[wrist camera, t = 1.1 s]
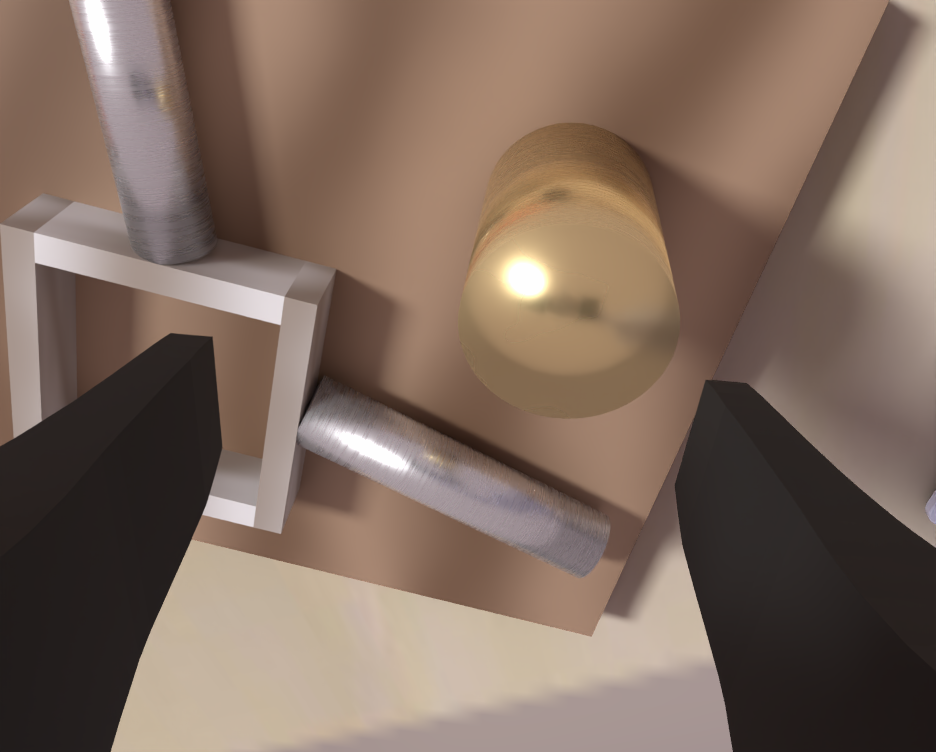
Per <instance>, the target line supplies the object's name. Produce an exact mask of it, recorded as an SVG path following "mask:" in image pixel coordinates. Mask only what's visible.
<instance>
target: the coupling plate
mask: <svg viewBox="0 0 936 752" xmlns="http://www.w3.org/2000/svg"><path fill="white" fill-rule="evenodd" d="M170 1H171V6H172V11H173V16H174V21H175V27H176V32H177V37H178V42H179V47H180V52H181V57H182V62H183V68H184V73H185V78H186V83H187V88H188V93H189V98H190V103H191V109H192V114H193V119H194V124H195V129H196V134H197V139H198V144H199V149H200V155H201V160H202V165H203V170H204V175H205V180H206V185H207V190H208V196H209V201H210V206H211V211H212V216H213V221H214V226H215V231H216V237H217V246H216V248H215V249H214V250H213V251H211V252H210V253H208V254H207V255H205V256H203V257H200V258H198V259H195V260H192V261H188V262H184V263H178V264H170V265H159V264H155V263H152V262H149V261H147V260H145V259H143V258H141V257H140V256H138V255H137V254H136V253H135V252H134V251H133V250H132V248H131V244H130V240H129V236H128V233H127V229H126V225H125V221H124V217H123V213H122V209H121V205H120V201H119V197H118V193H117V189H116V185H115V181H114V177H113V173H112V169H111V165H110V161H109V157H108V153H107V149H106V145H105V141H104V137H103V134H102V130H101V126H100V122H99V118H98V114H97V110H96V106H95V102H94V98H93V94H92V90H91V86H90V82H89V78H88V74H87V70H86V66H85V62H84V58H83V54H82V50H81V46H80V42H79V39H78V35H77V31H76V27H75V23H74V19H73V15H72V11H71V7H70V3H69V0H0V446H2V445H3V444H5V443H7V442H9V441H10V440H12V439H14V438H16V437H17V436H19V435H20V434H22V433H24V432H25V431H27V430H28V429H30V428H32V427H33V426H35V425H36V424H38V423H40V422H41V421H43V420H44V419H46V418H47V417H49V416H51V415H52V414H54V413H55V412H57V411H59V410H60V409H62V408H63V407H65V406H67V405H68V404H70V403H71V402H73V401H74V400H76V399H77V398H79V397H80V396H82V395H83V394H84V393H86V392H87V391H89V390H90V389H92V388H93V387H94V386H96V385H97V384H99V383H100V382H102V381H103V380H104V379H106V378H107V377H109V376H110V375H112V374H113V373H114V372H116V371H117V370H119V369H120V368H121V367H123V366H124V365H126V364H127V363H128V362H130V361H131V360H132V359H134V358H135V357H137V356H138V355H139V354H141V353H142V352H144V351H145V350H146V349H148V348H149V347H150V346H152V345H153V344H155V343H156V342H158V341H159V340H160V339H162V338H164V337H165V336H167V335H168V334H170V333H176V334H188V335H199V336H211V337H213V346H214V357H215V368H216V380H217V391H218V402H219V413H220V425H221V436H222V447H223V448H222V451H221V455H220V459H219V462H218V466H217V470H216V474H215V477H214V481H213V484H212V487H211V491H210V494H209V498H208V501H207V504H206V507H205V509H204V512H203V514H202V516H201V519H200V521H199V523H198V526H197V528H196V530H195V532H194V535H193V537H192V539H193V540H197V541H201V542H205V543H209V544H213V545H217V546H221V547H226V548H230V549H234V550H238V551H242V552H246V553H250V554H254V555H258V556H263V557H267V558H271V559H275V560H279V561H283V562H287V563H291V564H295V565H300V566H304V567H308V568H312V569H316V570H320V571H324V572H328V573H332V574H337V575H341V576H345V577H349V578H353V579H357V580H361V581H365V582H369V583H374V584H378V585H382V586H386V587H390V588H394V589H398V590H402V591H407V592H411V593H415V594H419V595H423V596H427V597H431V598H435V599H439V600H444V601H448V602H452V603H456V604H460V605H464V606H468V607H472V608H476V609H481V610H485V611H489V612H493V613H497V614H501V615H505V616H509V617H513V618H518V619H522V620H526V621H530V622H534V623H538V624H542V625H546V626H550V627H555V628H559V629H563V630H567V631H571V632H575V633H579V634H583V635H587V636H592V634H593V632H594V630H595V628H596V626H597V624H598V621H599V619H600V617H601V615H602V613H603V611H604V609H605V606H606V604H607V602H608V600H609V598H610V596H611V594H612V592H613V589H614V587H615V585H616V583H617V581H618V579H619V577H620V574H621V572H622V570H623V568H624V566H625V564H626V562H627V560H628V557H629V555H630V553H631V551H632V549H633V547H634V545H635V542H636V540H637V538H638V536H639V534H640V532H641V530H642V528H643V525H644V523H645V521H646V519H647V517H648V515H649V513H650V510H651V508H652V506H653V504H654V502H655V500H656V498H657V495H658V493H659V491H660V489H661V487H662V485H663V483H664V481H665V478H666V476H667V474H668V472H669V470H670V468H671V466H672V463H673V461H674V459H675V457H676V455H677V453H678V451H679V449H680V446H681V444H682V442H683V440H684V438H685V436H686V434H687V431H688V429H689V427H690V425H691V423H692V421H693V419H694V416H695V414H696V411H697V407H698V404H699V401H700V397H701V394H702V390H703V387H704V383H705V380H712V378H713V376H714V374H715V372H716V370H717V367H718V365H719V363H720V361H721V359H722V357H723V355H724V352H725V350H726V348H727V346H728V344H729V342H730V340H731V338H732V335H733V333H734V331H735V329H736V327H737V325H738V323H739V320H740V318H741V316H742V314H743V312H744V310H745V308H746V305H747V303H748V301H749V299H750V297H751V295H752V293H753V291H754V288H755V286H756V284H757V282H758V280H759V278H760V276H761V273H762V271H763V269H764V267H765V265H766V263H767V261H768V259H769V256H770V254H771V252H772V250H773V248H774V246H775V244H776V241H777V239H778V237H779V235H780V233H781V231H782V229H783V227H784V224H785V222H786V220H787V218H788V216H789V214H790V212H791V209H792V207H793V205H794V203H795V201H796V199H797V197H798V194H799V192H800V190H801V188H802V186H803V184H804V182H805V180H806V177H807V175H808V173H809V171H810V169H811V167H812V165H813V162H814V160H815V158H816V156H817V154H818V152H819V150H820V148H821V145H822V143H823V141H824V139H825V137H826V135H827V133H828V130H829V128H830V126H831V124H832V122H833V120H834V118H835V116H836V113H837V111H838V109H839V107H840V105H841V103H842V101H843V98H844V96H845V94H846V92H847V90H848V88H849V86H850V83H851V81H852V79H853V77H854V75H855V73H856V71H857V69H858V66H859V64H860V62H861V60H862V58H863V56H864V54H865V51H866V49H867V47H868V45H869V43H870V41H871V39H872V37H873V34H874V32H875V30H876V28H877V26H878V24H879V22H880V19H881V17H882V15H883V13H884V11H885V9H886V7H887V4H888V2H889V0H170ZM558 123H584V124H589V125H594V126H597V127H600V128H603V129H606V130H608V131H610V132H612V133H614V134H616V135H617V136H618V137H620V138H621V139H623V140H624V141H625V142H627V143H628V144H629V145H630V146H631V147H632V148H633V149H634V150H635V151H636V153H637V154H638V155H639V156H640V158H641V159H642V161H643V163H644V164H645V166H646V168H647V171H648V173H649V175H650V179H651V182H652V186H653V191H654V195H655V200H656V204H657V209H658V213H659V218H660V222H661V227H662V232H663V236H664V241H665V245H666V250H667V254H668V259H669V263H670V268H671V272H672V277H673V281H674V286H675V290H676V295H677V299H678V304H679V312H680V332H679V337H678V343H677V346H676V349H675V352H674V355H673V357H672V359H671V361H670V363H669V365H668V366H667V368H666V369H665V371H664V372H663V374H662V375H661V376H660V378H659V379H658V380H657V381H656V382H655V383H654V384H653V385H652V386H651V387H650V388H649V389H648V390H647V391H646V392H644V393H643V394H642V395H641V396H639V397H638V398H636V399H635V400H633V401H632V402H630V403H628V404H626V405H624V406H622V407H620V408H618V409H616V410H613V411H610V412H608V413H605V414H601V415H596V416H592V417H585V418H576V419H561V418H550V417H545V416H540V415H536V414H533V413H530V412H526V411H524V410H521V409H519V408H517V407H515V406H512V405H511V404H509V403H507V402H505V401H504V400H502V399H501V398H499V397H498V396H497V395H495V394H494V393H493V392H491V391H490V390H489V389H488V388H487V387H486V386H485V385H484V384H483V383H482V382H481V381H480V379H479V378H478V377H477V376H476V374H475V373H474V372H473V370H472V368H471V367H470V365H469V363H468V362H467V360H466V357H465V355H464V352H463V350H462V346H461V343H460V339H459V331H458V312H459V307H460V302H461V297H462V293H463V288H464V284H465V280H466V275H467V271H468V267H469V263H470V258H471V254H472V250H473V245H474V241H475V237H476V232H477V228H478V224H479V219H480V215H481V211H482V206H483V202H484V198H485V193H486V189H487V185H488V182H489V179H490V176H491V173H492V171H493V169H494V167H495V165H496V164H497V162H498V161H499V159H500V158H501V156H502V155H503V154H504V153H505V152H506V151H507V150H508V148H509V147H511V146H512V145H513V144H514V143H515V142H516V141H517V140H519V139H521V138H522V137H524V136H525V135H527V134H528V133H531V132H533V131H535V130H537V129H539V128H542V127H545V126H548V125H553V124H558ZM324 375H325V376H327V377H329V378H331V379H333V380H335V381H337V382H339V383H341V384H343V385H345V386H347V387H350V388H352V389H354V390H356V391H358V392H360V393H362V394H364V395H366V396H368V397H370V398H372V399H374V400H376V401H378V402H380V403H382V404H384V405H386V406H388V407H390V408H392V409H394V410H396V411H398V412H400V413H402V414H404V415H406V416H408V417H410V418H412V419H414V420H416V421H418V422H420V423H422V424H424V425H426V426H428V427H430V428H432V429H434V430H436V431H438V432H441V433H443V434H445V435H447V436H449V437H451V438H453V439H455V440H457V441H459V442H461V443H463V444H465V445H467V446H469V447H471V448H473V449H475V450H477V451H479V452H481V453H483V454H485V455H487V456H489V457H491V458H493V459H495V460H497V461H499V462H501V463H503V464H505V465H507V466H509V467H511V468H513V469H515V470H517V471H519V472H521V473H523V474H525V475H527V476H529V477H532V478H534V479H536V480H538V481H540V482H542V483H544V484H546V485H548V486H550V487H552V488H554V489H556V490H558V491H560V492H562V493H564V494H566V495H568V496H570V497H572V498H574V499H576V500H578V501H580V502H582V503H584V504H586V505H588V506H590V507H592V508H594V509H596V510H598V511H600V512H602V513H604V514H606V515H608V516H609V518H610V524H611V528H610V535H609V539H608V542H607V545H606V548H605V550H604V553H603V555H602V557H601V558H600V560H599V562H598V563H597V565H596V566H595V568H594V569H593V570H592V571H591V572H590V573H589V574H588V575H587V576H585V577H584V578H576V577H574V576H572V575H570V574H568V573H566V572H564V571H561V570H559V569H557V568H555V567H553V566H551V565H549V564H547V563H545V562H543V561H540V560H538V559H536V558H534V557H532V556H530V555H528V554H526V553H524V552H522V551H519V550H517V549H515V548H513V547H511V546H509V545H507V544H505V543H503V542H501V541H498V540H496V539H494V538H492V537H490V536H488V535H486V534H484V533H482V532H480V531H477V530H475V529H473V528H471V527H469V526H467V525H465V524H463V523H461V522H458V521H456V520H454V519H452V518H450V517H448V516H446V515H444V514H442V513H440V512H437V511H435V510H433V509H431V508H429V507H427V506H425V505H423V504H421V503H419V502H416V501H414V500H412V499H410V498H408V497H406V496H404V495H402V494H400V493H398V492H395V491H393V490H391V489H389V488H387V487H385V486H383V485H381V484H379V483H377V482H374V481H372V480H370V479H368V478H366V477H364V476H362V475H360V474H358V473H356V472H353V471H351V470H349V469H347V468H345V467H343V466H341V465H339V464H337V463H335V462H332V461H330V460H328V459H326V458H324V457H322V456H320V455H318V454H316V453H314V452H311V451H309V450H307V449H305V448H303V447H301V446H299V445H297V442H296V439H297V430H298V428H299V426H300V423H301V421H302V419H303V417H304V415H305V412H306V410H307V408H308V406H309V403H310V401H311V399H312V397H313V395H314V392H315V390H316V388H317V386H318V384H319V382H320V381H321V379H322V377H323V376H324Z"/></svg>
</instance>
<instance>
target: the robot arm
mask: <svg viewBox="0 0 936 752" xmlns="http://www.w3.org/2000/svg"><path fill="white" fill-rule="evenodd" d="M222 448H223V447H222V436H221V425H220V413H219V402H218V391H217V380H216V368H215V357H214V346H213V337H211V336H199V335H188V334H176V333H170V334H168V335H167V336H165V337H164V338H162V339H160V340H159V341H158V342H156V343H155V344H153V345H152V346H150V347H149V348H148V349H146V350H145V351H144V352H142V353H141V354H139V355H138V356H137V357H135V358H134V359H132V360H131V361H130V362H128V363H127V364H126V365H124V366H123V367H121V368H120V369H119V370H117V371H116V372H114V373H113V374H112V375H110V376H109V377H107V378H106V379H104V380H103V381H102V382H100V383H99V384H97V385H96V386H94V387H93V388H92V389H90V390H89V391H87V392H86V393H84V394H83V395H82V396H80V397H79V398H77V399H76V400H74V401H73V402H71V403H70V404H68V405H67V406H65V407H63V408H62V409H60V410H59V411H57V412H55V413H54V414H52V415H51V416H49V417H47V418H46V419H44V420H43V421H41V422H40V423H38V424H36V425H35V426H33V427H32V428H30V429H28V430H27V431H25V432H24V433H22V434H20V435H19V436H17V437H16V438H14V439H12V440H10V441H9V442H7V443H5V444H3V445H2V446H0V752H111V748H112V745H113V742H114V738H115V735H116V732H117V728H118V725H119V722H120V718H121V715H122V712H123V709H124V706H125V703H126V700H127V697H128V694H129V690H130V687H131V684H132V681H133V678H134V675H135V672H136V669H137V665H138V662H139V659H140V657H141V654H142V652H143V649H144V646H145V644H146V641H147V639H148V636H149V634H150V631H151V629H152V627H153V624H154V622H155V620H156V618H157V615H158V613H159V611H160V609H161V607H162V604H163V602H164V600H165V598H166V595H167V593H168V591H169V589H170V586H171V584H172V582H173V580H174V577H175V575H176V573H177V571H178V569H179V566H180V564H181V562H182V560H183V557H184V555H185V553H186V551H187V548H188V546H189V544H190V542H191V539H192V537H193V535H194V532H195V530H196V528H197V526H198V523H199V521H200V519H201V516H202V514H203V512H204V509H205V507H206V504H207V501H208V498H209V494H210V491H211V487H212V484H213V481H214V477H215V474H216V470H217V466H218V462H219V459H220V455H221V451H222ZM675 491H676V500H677V509H678V517H679V524H680V531H681V538H682V545H683V549H684V553H685V557H686V560H687V564H688V568H689V571H690V575H691V579H692V582H693V586H694V590H695V593H696V597H697V601H698V604H699V608H700V611H701V615H702V618H703V622H704V625H705V629H706V633H707V636H708V640H709V643H710V647H711V650H712V654H713V658H714V661H715V665H716V668H717V672H718V676H719V680H720V684H721V688H722V693H723V697H724V701H725V706H726V712H727V719H728V724H729V731H730V737H731V742H732V748H733V752H936V548H935V547H934V546H932V545H931V544H930V543H928V542H927V541H925V540H924V539H923V538H921V537H920V536H918V535H917V534H916V533H914V532H913V531H912V530H910V529H909V528H908V527H906V526H905V525H904V524H902V523H901V522H900V521H899V520H897V519H896V518H895V517H893V516H892V515H891V514H890V513H889V512H887V511H886V510H885V509H884V508H883V507H881V506H880V505H879V504H878V503H877V502H875V501H874V500H873V499H872V498H871V497H869V496H868V495H867V494H866V493H865V492H863V491H862V490H861V489H860V488H859V487H857V486H856V485H855V484H854V483H853V482H852V481H851V480H850V479H848V478H847V477H846V476H845V475H844V474H843V473H842V472H841V471H839V470H838V469H837V468H836V467H835V466H834V465H833V464H832V463H831V462H830V461H829V460H827V459H826V458H825V457H824V456H823V455H822V454H821V453H820V452H819V451H818V450H817V449H816V448H815V447H814V446H813V445H812V444H810V443H809V442H808V441H807V440H806V439H805V438H804V437H803V436H802V435H801V434H800V433H799V432H798V431H797V430H796V429H795V428H794V427H793V426H792V425H791V424H790V423H789V422H788V421H787V420H786V419H785V418H784V417H783V416H782V415H781V414H780V413H778V412H777V411H776V410H775V409H774V408H773V407H772V406H771V405H770V404H769V403H768V402H767V401H766V400H765V399H764V398H763V397H762V396H761V395H760V394H759V393H757V392H756V391H755V390H754V389H753V388H752V387H751V386H749V385H748V384H747V383H738V382H727V381H715V380H705V383H704V387H703V390H702V394H701V397H700V401H699V404H698V407H697V411H696V414H695V418H694V421H693V425H692V428H691V432H690V435H689V438H688V442H687V445H686V449H685V452H684V456H683V459H682V463H681V466H680V469H679V473H678V476H677V480H676V483H675ZM925 510H926V514H927V516H928V518H929V519H930V520H931V522H932V523H934V524H936V490H935V492H934V493H933V495H932V496H931V498H930V499H929V500H928V502H927V504H926V506H925Z"/></svg>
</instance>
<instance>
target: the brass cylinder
mask: <svg viewBox="0 0 936 752" xmlns="http://www.w3.org/2000/svg"><path fill="white" fill-rule="evenodd" d="M458 331H459V339H460V343H461V346H462V350H463V352H464V355H465V357H466V360H467V362H468V363H469V365H470V367H471V368H472V370H473V372H474V373H475V374H476V376H477V377H478V378H479V379H480V381H481V382H482V383H483V384H484V385H485V386H486V387H487V388H488V389H489V390H490V391H491V392H493V393H494V394H495V395H497V396H498V397H499V398H501V399H502V400H504V401H505V402H507V403H509V404H511V405H512V406H515V407H517V408H519V409H521V410H524V411H526V412H530V413H533V414H536V415H540V416H545V417H550V418H561V419H576V418H585V417H592V416H596V415H601V414H605V413H608V412H610V411H613V410H616V409H618V408H620V407H622V406H624V405H626V404H628V403H630V402H632V401H633V400H635V399H636V398H638V397H639V396H641V395H642V394H643V393H644V392H646V391H647V390H648V389H649V388H650V387H651V386H652V385H653V384H654V383H655V382H656V381H657V380H658V379H659V378H660V376H661V375H662V374H663V372H664V371H665V369H666V368H667V366H668V365H669V363H670V361H671V359H672V357H673V355H674V352H675V349H676V346H677V343H678V337H679V332H680V312H679V304H678V299H677V295H676V290H675V286H674V281H673V277H672V272H671V268H670V263H669V259H668V254H667V250H666V245H665V241H664V236H663V232H662V227H661V222H660V218H659V213H658V209H657V204H656V200H655V195H654V191H653V186H652V182H651V179H650V175H649V173H648V171H647V168H646V166H645V164H644V163H643V161H642V159H641V158H640V156H639V155H638V154H637V153H636V151H635V150H634V149H633V148H632V147H631V146H630V145H629V144H628V143H627V142H625V141H624V140H623V139H621V138H620V137H618V136H617V135H616V134H614V133H612V132H610V131H608V130H606V129H603V128H600V127H597V126H594V125H589V124H584V123H558V124H553V125H548V126H545V127H542V128H539V129H537V130H535V131H533V132H531V133H528V134H527V135H525V136H524V137H522V138H521V139H519V140H517V141H516V142H515V143H514V144H513V145H512V146H511V147H509V148H508V150H507V151H506V152H505V153H504V154H503V155H502V156H501V158H500V159H499V161H498V162H497V164H496V165H495V167H494V169H493V171H492V173H491V176H490V179H489V182H488V185H487V189H486V193H485V198H484V202H483V206H482V211H481V215H480V219H479V224H478V228H477V232H476V237H475V241H474V245H473V250H472V254H471V258H470V263H469V267H468V271H467V275H466V280H465V284H464V288H463V293H462V297H461V302H460V307H459V312H458Z"/></svg>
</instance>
